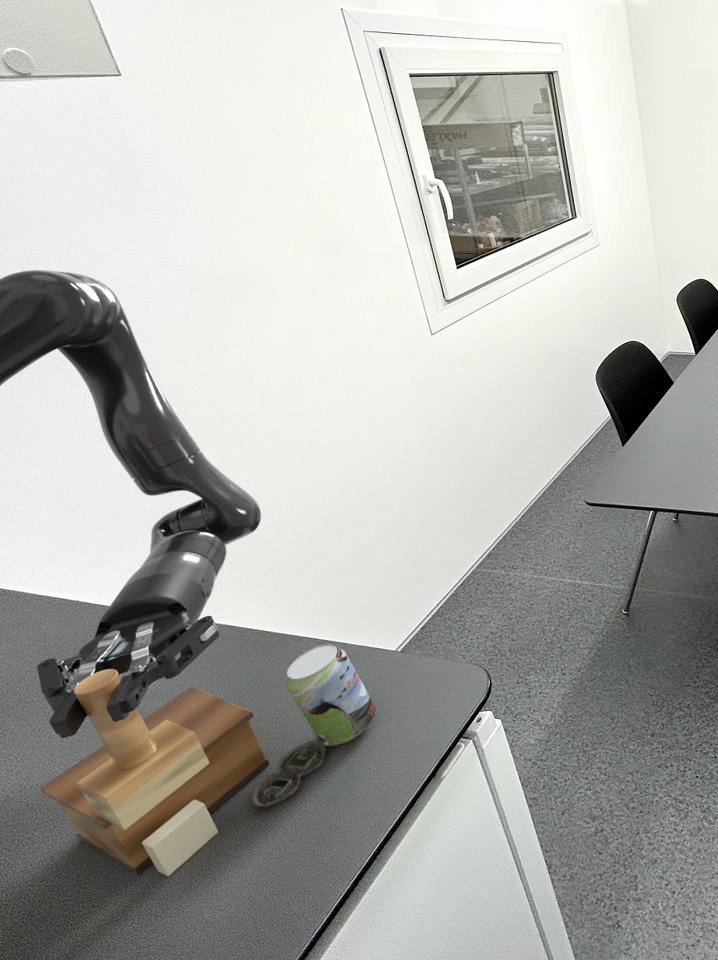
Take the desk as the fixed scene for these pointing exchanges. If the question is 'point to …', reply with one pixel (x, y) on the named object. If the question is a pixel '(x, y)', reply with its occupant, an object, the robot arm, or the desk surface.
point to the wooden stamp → (134, 756)
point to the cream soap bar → (180, 837)
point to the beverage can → (330, 694)
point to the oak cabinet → (226, 773)
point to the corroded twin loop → (289, 774)
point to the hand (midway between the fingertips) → (90, 721)
